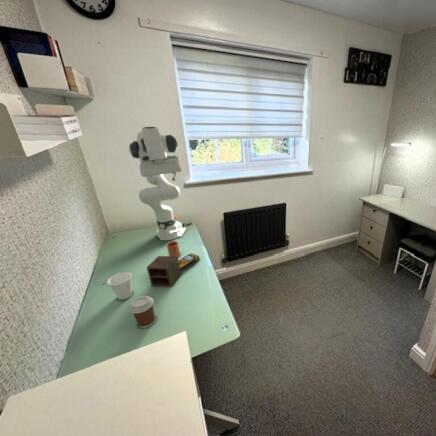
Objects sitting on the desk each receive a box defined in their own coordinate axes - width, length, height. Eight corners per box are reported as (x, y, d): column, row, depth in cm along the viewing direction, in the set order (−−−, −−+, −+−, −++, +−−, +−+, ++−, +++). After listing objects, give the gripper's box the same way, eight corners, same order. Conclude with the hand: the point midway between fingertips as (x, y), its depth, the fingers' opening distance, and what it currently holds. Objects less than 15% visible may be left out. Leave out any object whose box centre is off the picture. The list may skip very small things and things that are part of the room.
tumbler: (172, 253, 158) (170, 241, 154) (182, 253, 157) (179, 241, 154) (167, 258, 152) (164, 246, 148) (177, 258, 151) (174, 246, 148)
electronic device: (170, 269, 141) (168, 265, 140) (190, 256, 154) (189, 252, 153) (179, 273, 138) (178, 268, 136) (200, 260, 151) (199, 255, 149)
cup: (141, 290, 124) (136, 272, 120) (127, 303, 115) (121, 285, 111) (123, 288, 125) (117, 271, 121) (108, 302, 116) (101, 284, 112)
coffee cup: (147, 332, 100) (140, 311, 95) (130, 327, 103) (122, 306, 98) (163, 316, 108) (157, 296, 104) (147, 312, 111) (140, 292, 106)
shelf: (162, 273, 138) (158, 255, 133) (181, 274, 137) (177, 256, 132) (151, 285, 128) (146, 267, 123) (171, 286, 127) (166, 268, 122)
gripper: (177, 155, 136) (183, 179, 139) (136, 160, 126) (144, 185, 129) (178, 154, 131) (185, 178, 133) (136, 158, 121) (144, 185, 123)
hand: (164, 182), depth 131 cm, fingers open, 8 cm apart
